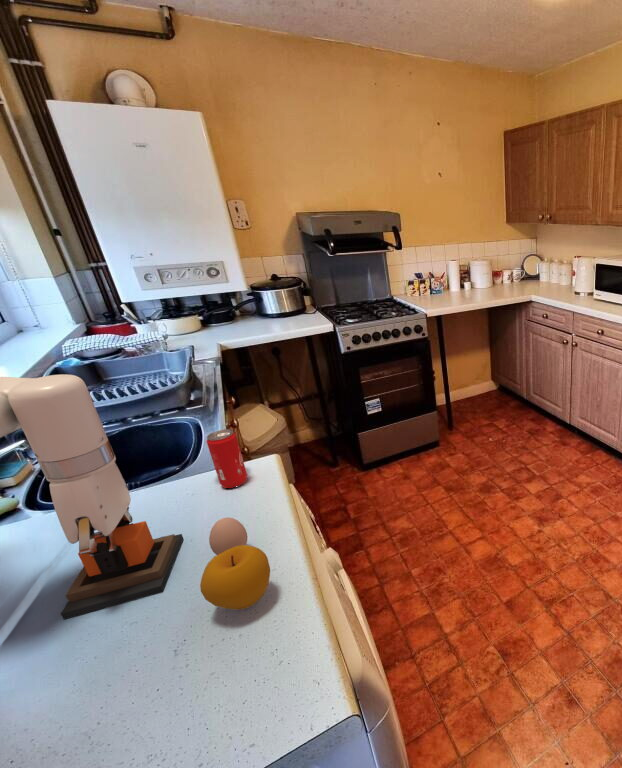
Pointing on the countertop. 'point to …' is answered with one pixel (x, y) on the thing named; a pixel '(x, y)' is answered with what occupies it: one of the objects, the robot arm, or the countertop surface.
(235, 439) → the beverage can
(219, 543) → the egg
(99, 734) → the countertop surface
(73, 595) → the brown wooden tray
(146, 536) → the orange block
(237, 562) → the apple
